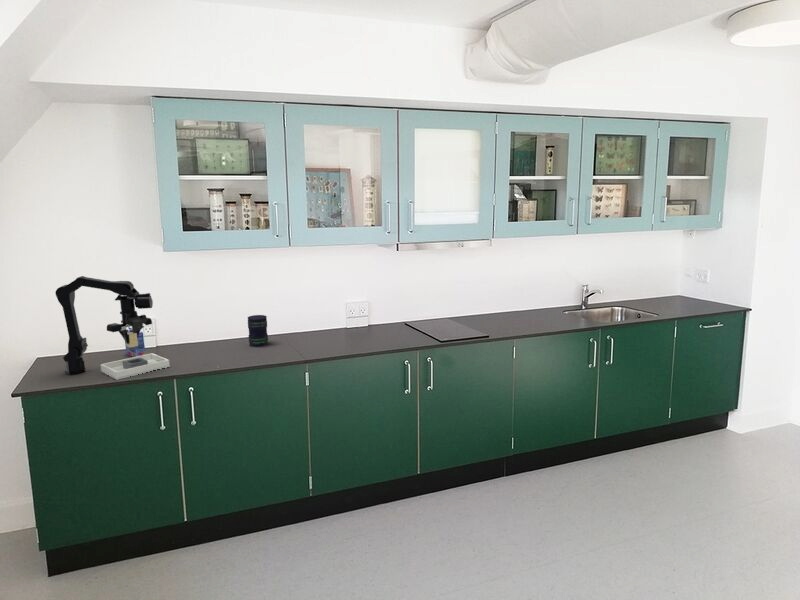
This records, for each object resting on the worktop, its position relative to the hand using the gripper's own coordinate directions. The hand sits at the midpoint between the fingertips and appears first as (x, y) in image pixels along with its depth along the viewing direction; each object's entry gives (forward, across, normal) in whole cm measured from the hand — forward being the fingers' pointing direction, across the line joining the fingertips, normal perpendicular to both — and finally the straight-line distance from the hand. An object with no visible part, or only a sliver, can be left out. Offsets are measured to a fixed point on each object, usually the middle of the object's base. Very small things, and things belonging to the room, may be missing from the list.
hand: (131, 342), depth 275 cm
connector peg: (+2, 0, 0) cm, 2 cm away
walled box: (+12, 0, -2) cm, 12 cm away
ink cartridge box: (+12, +12, +20) cm, 27 cm away
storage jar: (+13, +61, -14) cm, 64 cm away
